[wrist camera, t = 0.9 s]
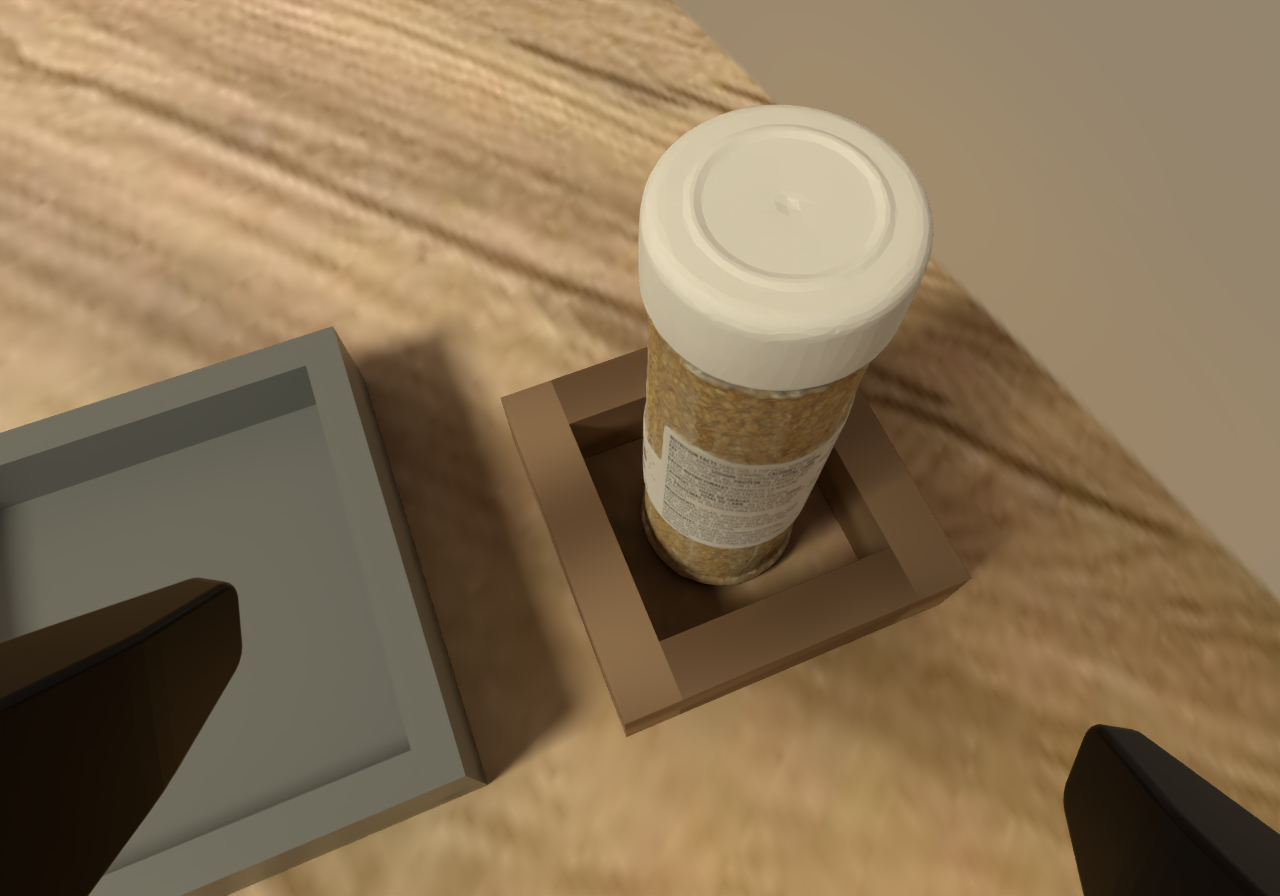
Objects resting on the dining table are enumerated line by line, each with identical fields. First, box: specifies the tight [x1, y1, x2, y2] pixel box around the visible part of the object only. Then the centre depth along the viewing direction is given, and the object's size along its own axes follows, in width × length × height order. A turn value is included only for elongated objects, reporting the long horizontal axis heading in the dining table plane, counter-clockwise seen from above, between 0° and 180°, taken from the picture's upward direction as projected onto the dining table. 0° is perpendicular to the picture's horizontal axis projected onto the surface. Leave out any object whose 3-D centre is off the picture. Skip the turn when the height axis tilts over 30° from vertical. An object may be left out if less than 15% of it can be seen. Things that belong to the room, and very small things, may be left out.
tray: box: [0, 326, 487, 896], centre depth 22 cm, size 13×13×3 cm
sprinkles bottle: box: [639, 105, 933, 586], centre depth 19 cm, size 5×5×14 cm
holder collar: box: [501, 347, 971, 737], centre depth 24 cm, size 10×10×2 cm
